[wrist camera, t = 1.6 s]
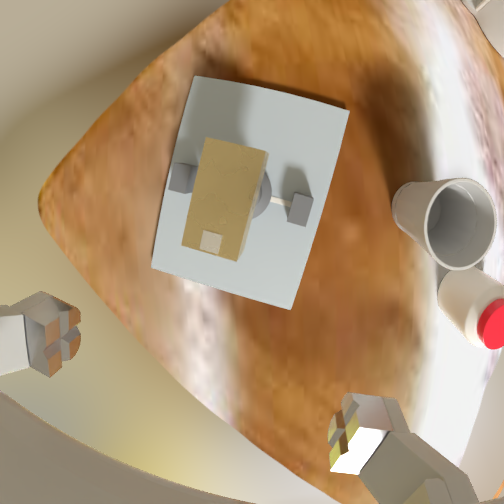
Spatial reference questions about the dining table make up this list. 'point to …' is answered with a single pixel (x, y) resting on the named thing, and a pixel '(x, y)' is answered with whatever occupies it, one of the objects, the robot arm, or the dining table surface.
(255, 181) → the tan parcel with label
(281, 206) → the base
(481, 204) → the cup
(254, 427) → the dining table surface
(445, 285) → the pill bottle
